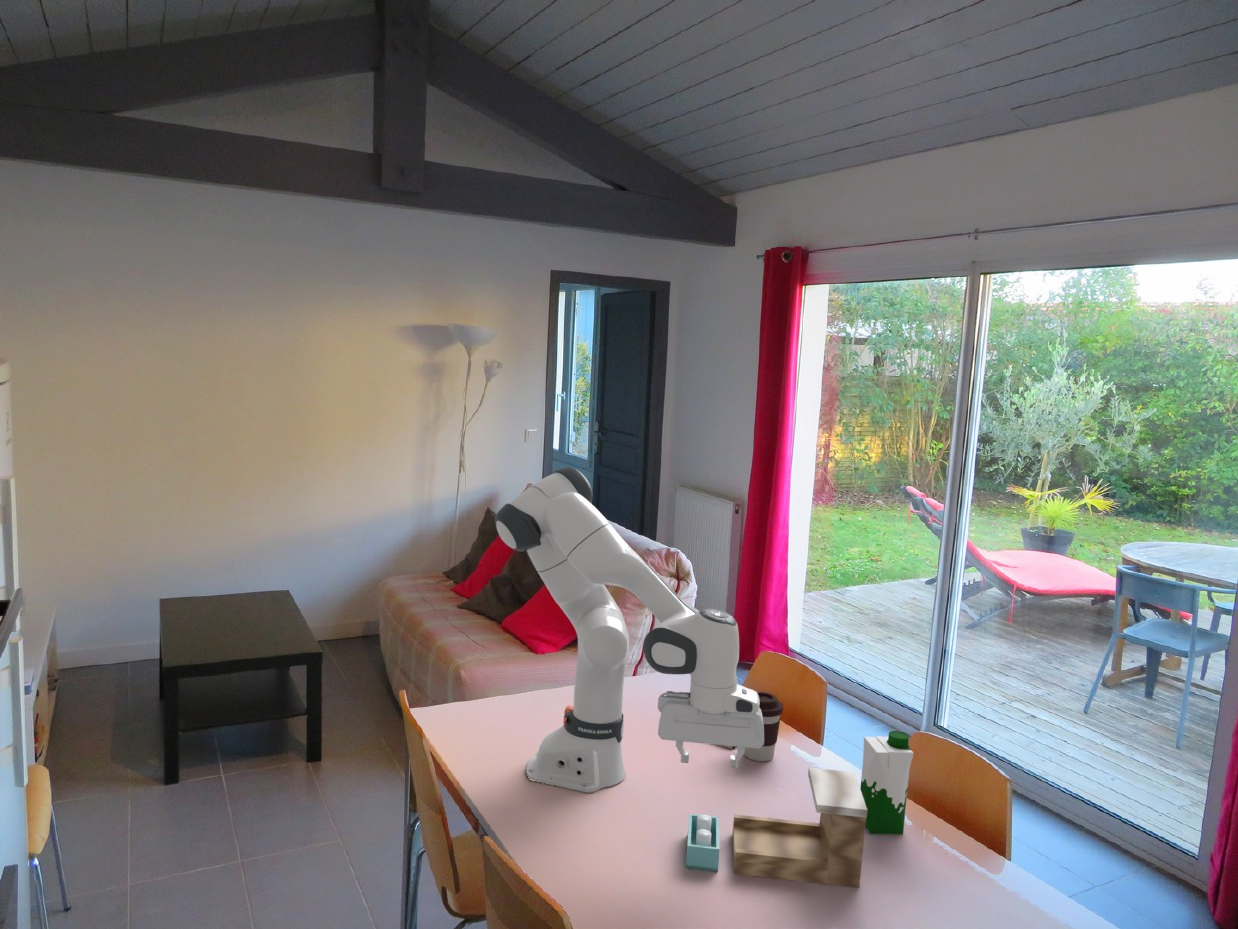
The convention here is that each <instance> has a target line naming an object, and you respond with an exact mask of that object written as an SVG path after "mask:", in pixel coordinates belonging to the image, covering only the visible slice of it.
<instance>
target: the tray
mask: <svg viewBox="0 0 1238 929" xmlns="http://www.w3.org/2000/svg"><path fill="white" fill-rule="evenodd" d="M686 841H687V844H686V856H685V857H686V858H685V869H689V870H700V871H709V872H715V873H716V872H717V873H718V872H719V864H720V863H719V862H720V861H719V860H720V816H715V815H708V814H696V813H695V814H694V813H688V825H687V840H686Z"/></svg>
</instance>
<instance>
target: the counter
mask: <svg viewBox="0 0 1238 929" xmlns="http://www.w3.org/2000/svg"><path fill="white" fill-rule="evenodd" d="M807 770H808V772H807V773H808V774H807V777H808V781H809V785H810V788H811V794H812V798H813V802H814V804H813V805H814V808H815V813H818V814H820V815H819V822H812V821H811V822H809V821H799V820H790V819H789V820H788V819H781V818H770V817H763V816H762V817H761V816H754V815H753V816H752V815H743V814H733V824H732V852H733V854H732V855H733V874H735V875H742V876H749V877H750V876H752V877H758V878H760V877H761V878H768V879H769V878H770V879H778V880H786V881H796V882H804V883H805V882H806V883H814V884H823V885H831V886H832V885H833V886H839V887H840V886H841V887H850V888H858V889H859V888H860V885H861V877H862V876H861V875H862V874H861V873H862V863H863V853H864V844H865V834H866V827H865V824H866V818H867V807H866V804H865V801H864V798H863V795H862V792H861V789H860V788H861V785H860V783H859V782H858V778H857V775H856V772H855V771H847V770H845V771H844V770H837V769H835V770H834V769H828V768H827V769H826V768H815V767H808V769H807Z"/></svg>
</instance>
